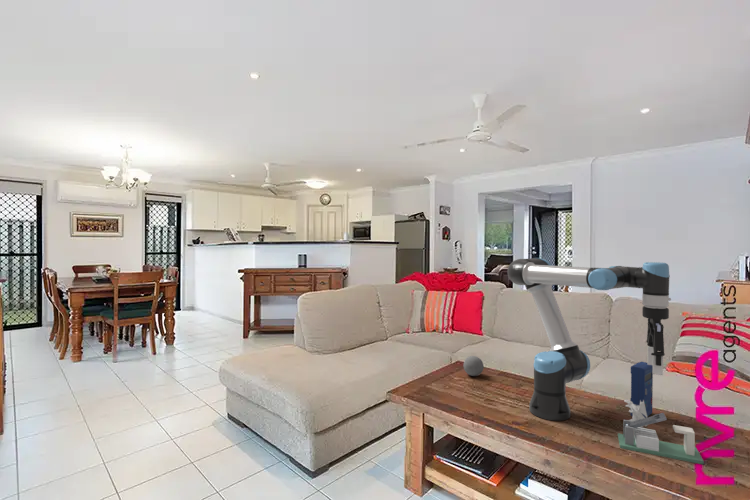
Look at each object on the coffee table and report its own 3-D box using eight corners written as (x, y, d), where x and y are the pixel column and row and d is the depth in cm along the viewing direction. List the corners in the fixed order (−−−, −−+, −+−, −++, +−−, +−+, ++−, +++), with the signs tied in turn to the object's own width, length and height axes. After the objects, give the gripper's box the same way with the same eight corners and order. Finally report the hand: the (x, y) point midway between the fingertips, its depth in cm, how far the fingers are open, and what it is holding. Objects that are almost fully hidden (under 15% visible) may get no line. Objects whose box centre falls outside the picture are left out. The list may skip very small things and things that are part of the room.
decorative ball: (464, 378, 199) (464, 358, 199) (463, 371, 209) (462, 353, 208) (484, 379, 197) (484, 359, 197) (482, 372, 207) (482, 353, 207)
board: (620, 447, 132) (620, 427, 132) (617, 435, 140) (617, 416, 140) (703, 464, 122) (704, 442, 122) (696, 450, 130) (696, 430, 130)
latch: (674, 452, 127) (675, 429, 127) (672, 446, 131) (672, 424, 130) (694, 455, 125) (694, 433, 125) (691, 450, 128) (691, 428, 128)
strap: (627, 432, 133) (624, 426, 133) (626, 427, 137) (623, 421, 137) (668, 421, 128) (664, 416, 128) (665, 416, 131) (662, 411, 132)
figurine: (629, 422, 150) (630, 391, 150) (653, 430, 144) (653, 397, 144) (617, 430, 144) (617, 398, 143) (641, 439, 138) (641, 405, 137)
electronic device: (644, 420, 151) (644, 368, 151) (629, 416, 155) (629, 365, 155) (653, 413, 157) (654, 363, 157) (638, 409, 161) (639, 360, 161)
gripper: (676, 313, 126) (675, 381, 127) (662, 302, 147) (661, 361, 147) (647, 311, 130) (646, 378, 130) (638, 301, 150) (637, 359, 151)
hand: (654, 369), depth 139 cm, fingers open, 10 cm apart
